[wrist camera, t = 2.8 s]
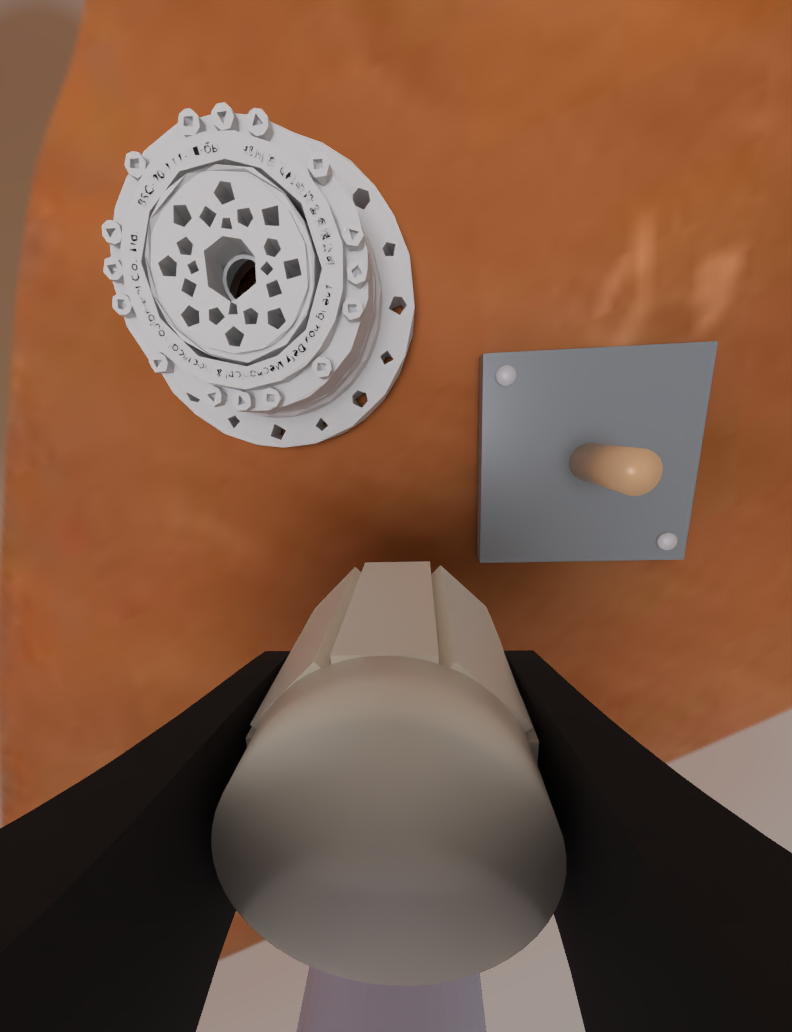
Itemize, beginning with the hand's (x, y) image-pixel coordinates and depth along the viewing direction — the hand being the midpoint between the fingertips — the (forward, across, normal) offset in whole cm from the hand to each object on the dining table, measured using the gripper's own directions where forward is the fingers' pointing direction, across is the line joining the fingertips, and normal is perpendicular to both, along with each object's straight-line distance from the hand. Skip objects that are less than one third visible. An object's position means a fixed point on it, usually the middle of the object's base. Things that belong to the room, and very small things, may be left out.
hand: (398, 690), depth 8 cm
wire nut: (+2, 0, 0) cm, 2 cm away
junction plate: (+8, -7, -4) cm, 12 cm away
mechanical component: (+9, +4, -10) cm, 14 cm away
